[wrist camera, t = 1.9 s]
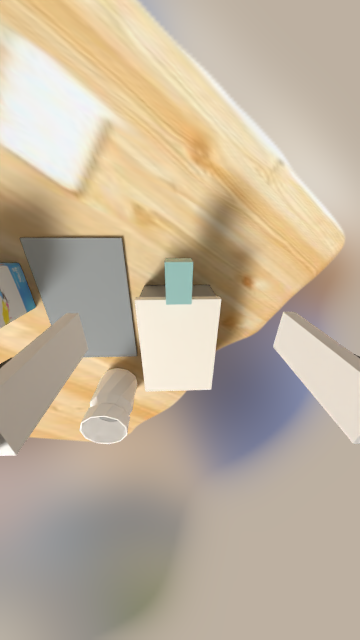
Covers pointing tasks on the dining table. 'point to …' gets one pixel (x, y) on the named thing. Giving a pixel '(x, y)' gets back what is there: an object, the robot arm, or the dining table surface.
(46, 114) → the dining table surface
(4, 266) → the ink box
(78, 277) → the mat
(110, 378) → the white vase
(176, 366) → the cream flat block
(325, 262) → the dining table surface
